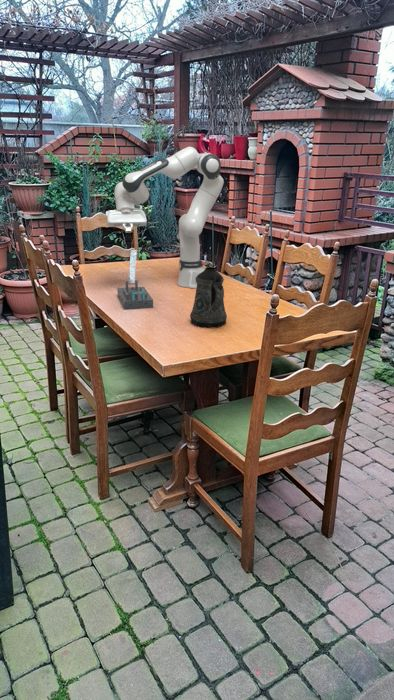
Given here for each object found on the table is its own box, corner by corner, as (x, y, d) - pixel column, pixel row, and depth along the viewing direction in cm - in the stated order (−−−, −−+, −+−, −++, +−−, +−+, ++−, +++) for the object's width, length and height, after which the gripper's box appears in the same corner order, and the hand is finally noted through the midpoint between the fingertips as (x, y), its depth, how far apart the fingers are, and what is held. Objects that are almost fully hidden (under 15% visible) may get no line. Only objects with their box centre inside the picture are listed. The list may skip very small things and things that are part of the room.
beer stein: (205, 314, 245) (206, 262, 236) (239, 323, 233) (241, 268, 224) (182, 322, 233) (183, 267, 224) (216, 332, 221) (218, 275, 212)
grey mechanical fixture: (143, 293, 276) (143, 278, 273) (153, 308, 252) (153, 291, 249) (117, 295, 273) (117, 279, 269) (124, 309, 249) (124, 292, 246)
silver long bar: (134, 284, 270) (133, 282, 271) (137, 251, 252) (136, 248, 253) (128, 284, 269) (128, 282, 270) (130, 251, 252) (130, 249, 253)
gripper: (105, 206, 264) (108, 228, 259) (145, 206, 269) (148, 227, 264) (104, 214, 270) (107, 236, 265) (143, 213, 275) (147, 235, 270)
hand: (128, 232), depth 265 cm, fingers closed
